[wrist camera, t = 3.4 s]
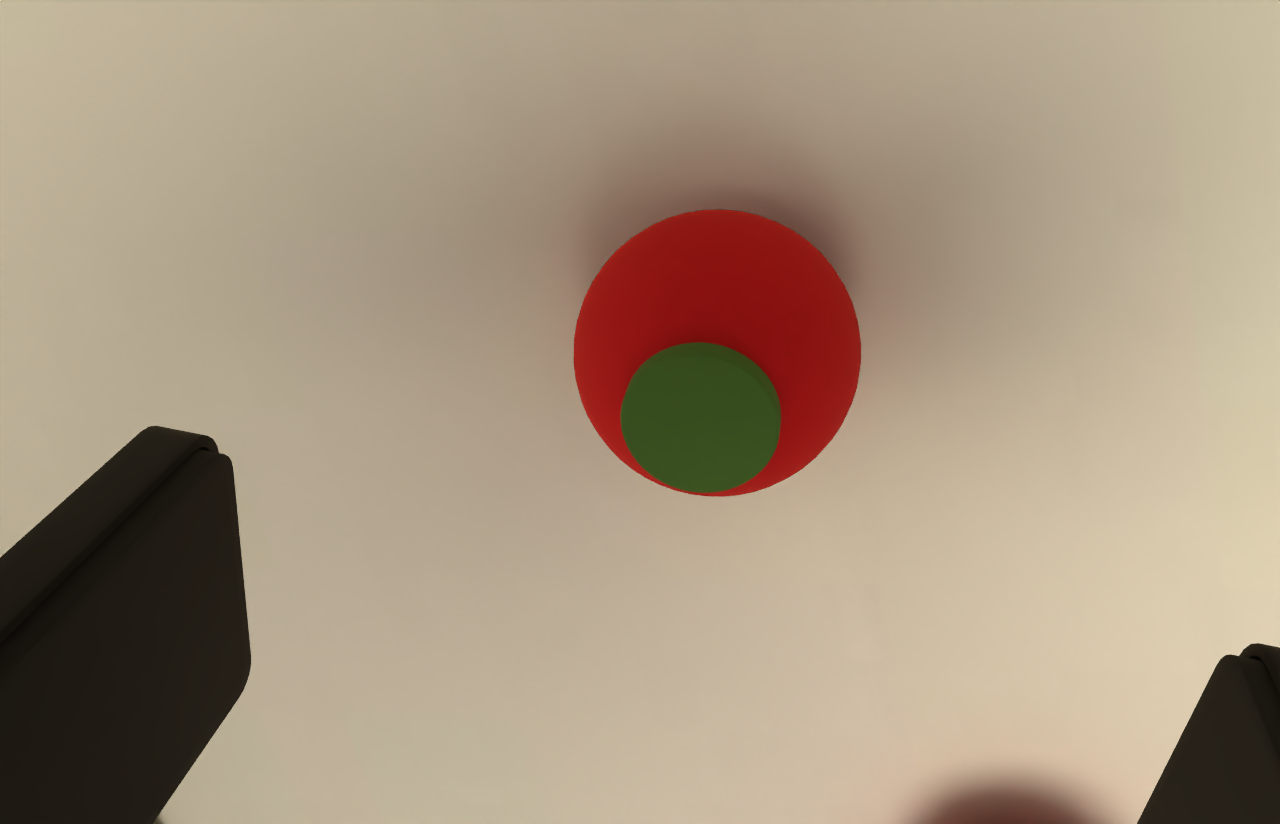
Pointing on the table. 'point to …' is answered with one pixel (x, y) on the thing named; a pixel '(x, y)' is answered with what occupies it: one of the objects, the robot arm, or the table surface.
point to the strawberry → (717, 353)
